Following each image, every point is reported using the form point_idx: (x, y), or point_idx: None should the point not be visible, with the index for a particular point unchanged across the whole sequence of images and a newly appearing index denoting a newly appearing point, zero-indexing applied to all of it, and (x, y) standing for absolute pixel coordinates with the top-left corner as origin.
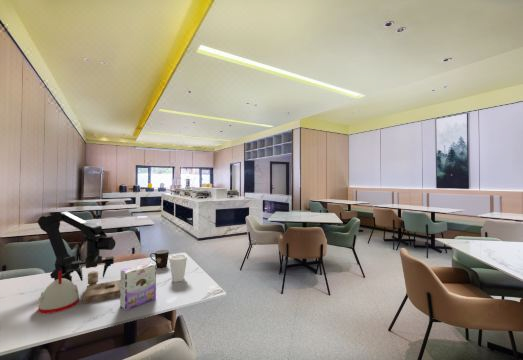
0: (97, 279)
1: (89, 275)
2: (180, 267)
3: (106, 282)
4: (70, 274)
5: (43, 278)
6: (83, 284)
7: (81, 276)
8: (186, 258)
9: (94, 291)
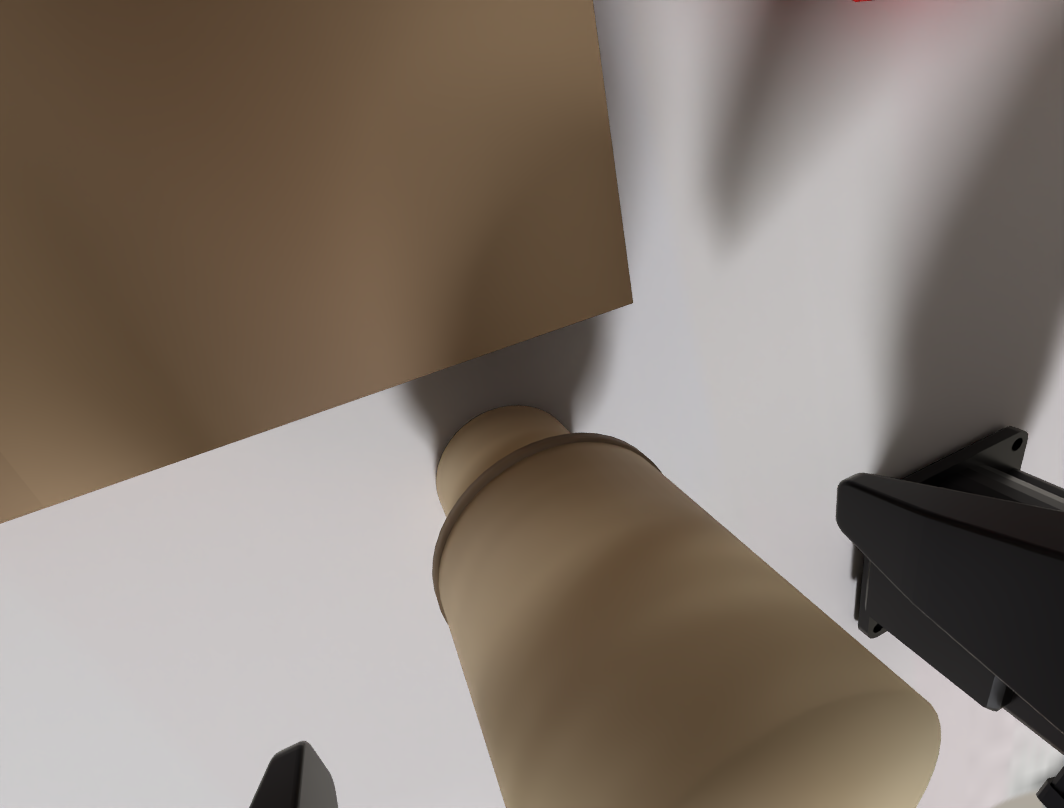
0: (454, 620)
1: (824, 630)
2: None
3: (2, 504)
4: (1043, 727)
5: None
6: None
7: (1037, 539)
8: None
9: None
